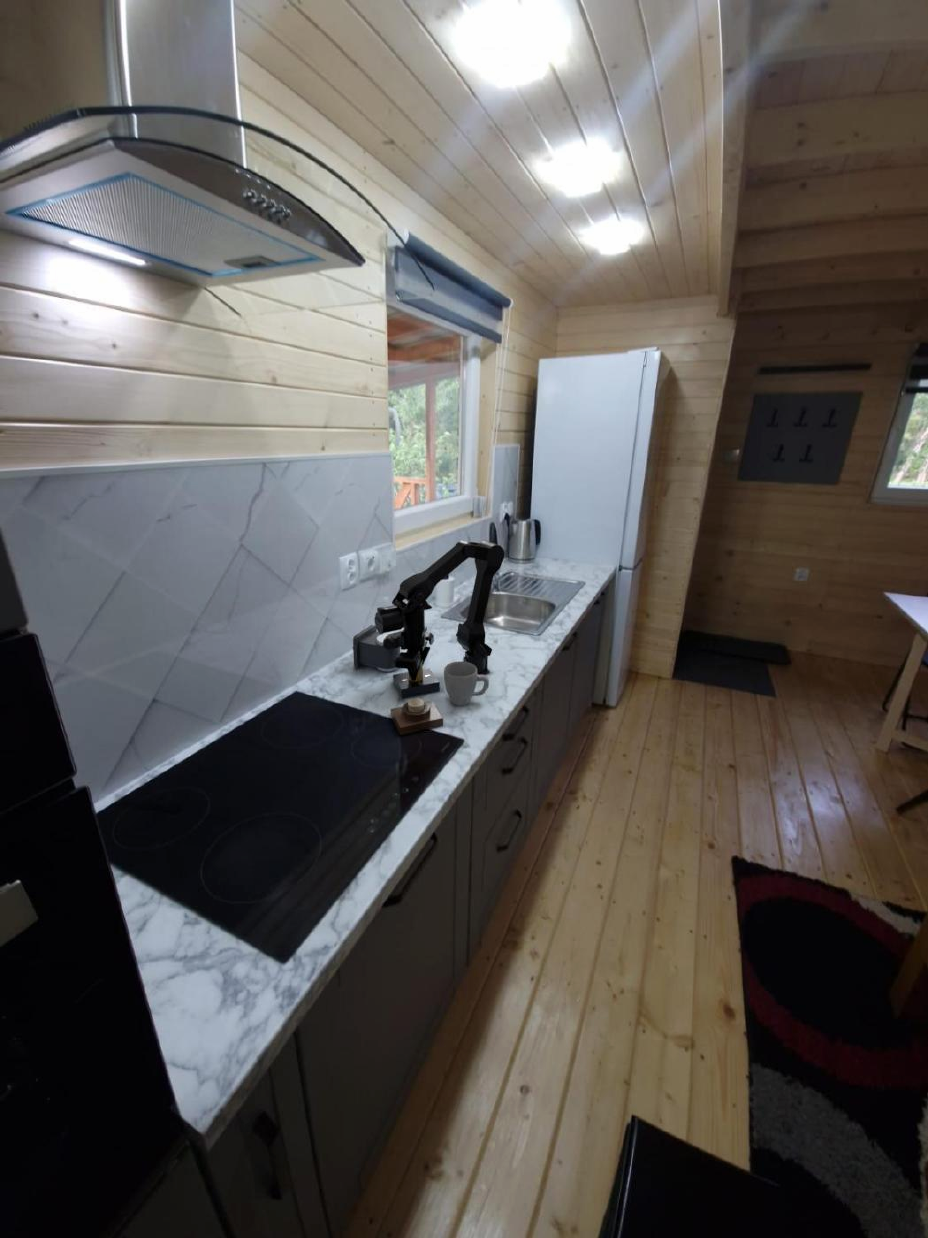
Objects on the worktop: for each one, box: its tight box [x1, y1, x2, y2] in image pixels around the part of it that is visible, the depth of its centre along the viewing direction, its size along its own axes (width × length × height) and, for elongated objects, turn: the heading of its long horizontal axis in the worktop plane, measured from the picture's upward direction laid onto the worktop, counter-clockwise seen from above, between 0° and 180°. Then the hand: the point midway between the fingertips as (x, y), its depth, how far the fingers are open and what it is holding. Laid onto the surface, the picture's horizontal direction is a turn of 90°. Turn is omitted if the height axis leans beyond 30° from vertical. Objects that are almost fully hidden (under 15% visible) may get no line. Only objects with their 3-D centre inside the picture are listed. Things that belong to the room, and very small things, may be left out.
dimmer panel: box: [392, 667, 441, 700], centre depth 140 cm, size 11×9×3 cm
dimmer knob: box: [409, 665, 424, 682], centre depth 139 cm, size 4×4×4 cm
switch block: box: [390, 700, 444, 736], centre depth 125 cm, size 11×9×4 cm
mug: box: [443, 661, 490, 706], centre depth 133 cm, size 12×9×10 cm
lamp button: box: [407, 697, 425, 712], centre depth 124 cm, size 4×4×2 cm
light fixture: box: [352, 624, 401, 672], centre depth 151 cm, size 11×13×11 cm
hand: (415, 676), depth 139 cm, fingers closed on dimmer knob, 4 cm apart
